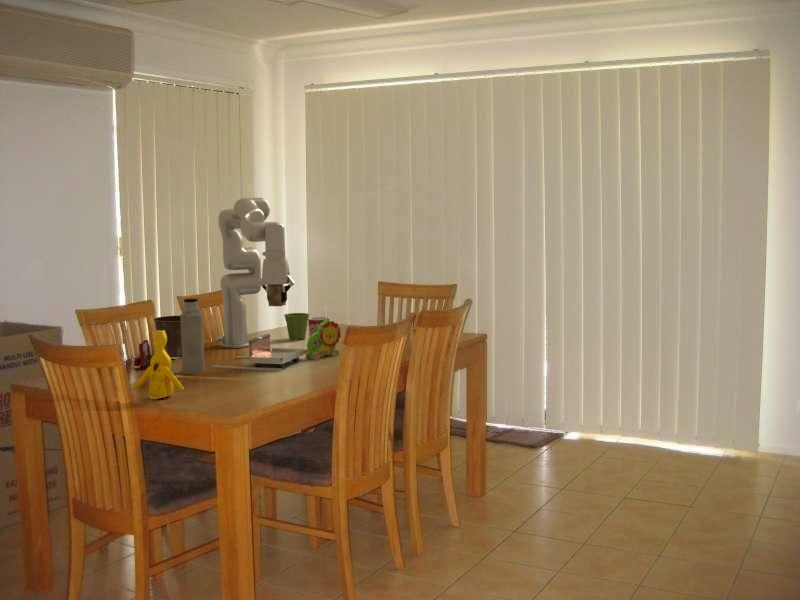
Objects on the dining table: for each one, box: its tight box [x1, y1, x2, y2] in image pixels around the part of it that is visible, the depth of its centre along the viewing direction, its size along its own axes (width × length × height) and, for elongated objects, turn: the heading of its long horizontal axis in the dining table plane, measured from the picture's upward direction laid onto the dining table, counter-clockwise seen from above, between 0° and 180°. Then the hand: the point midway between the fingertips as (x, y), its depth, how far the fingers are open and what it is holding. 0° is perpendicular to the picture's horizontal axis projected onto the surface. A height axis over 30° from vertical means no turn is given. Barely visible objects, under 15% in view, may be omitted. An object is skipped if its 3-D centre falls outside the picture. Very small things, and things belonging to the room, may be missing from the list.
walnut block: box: [267, 285, 287, 307], centre depth 360 cm, size 5×5×8 cm
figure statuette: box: [131, 330, 185, 397], centre depth 304 cm, size 18×8×22 cm, turn 82°
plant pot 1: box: [153, 315, 182, 357], centre depth 379 cm, size 16×16×16 cm
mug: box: [307, 316, 330, 349], centre depth 393 cm, size 13×9×14 cm
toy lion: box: [305, 320, 342, 361], centre depth 371 cm, size 16×6×15 cm, turn 135°
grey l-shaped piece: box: [247, 333, 304, 369], centre depth 355 cm, size 14×20×11 cm
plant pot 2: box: [283, 312, 311, 341], centre depth 421 cm, size 12×12×11 cm
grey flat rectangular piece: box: [211, 355, 304, 372], centre depth 357 cm, size 28×21×2 cm
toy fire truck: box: [133, 339, 153, 367], centre depth 359 cm, size 7×12×10 cm, turn 1°
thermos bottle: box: [179, 298, 206, 375], centre depth 343 cm, size 8×8×28 cm
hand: (277, 301), depth 360 cm, fingers closed on walnut block, 5 cm apart
